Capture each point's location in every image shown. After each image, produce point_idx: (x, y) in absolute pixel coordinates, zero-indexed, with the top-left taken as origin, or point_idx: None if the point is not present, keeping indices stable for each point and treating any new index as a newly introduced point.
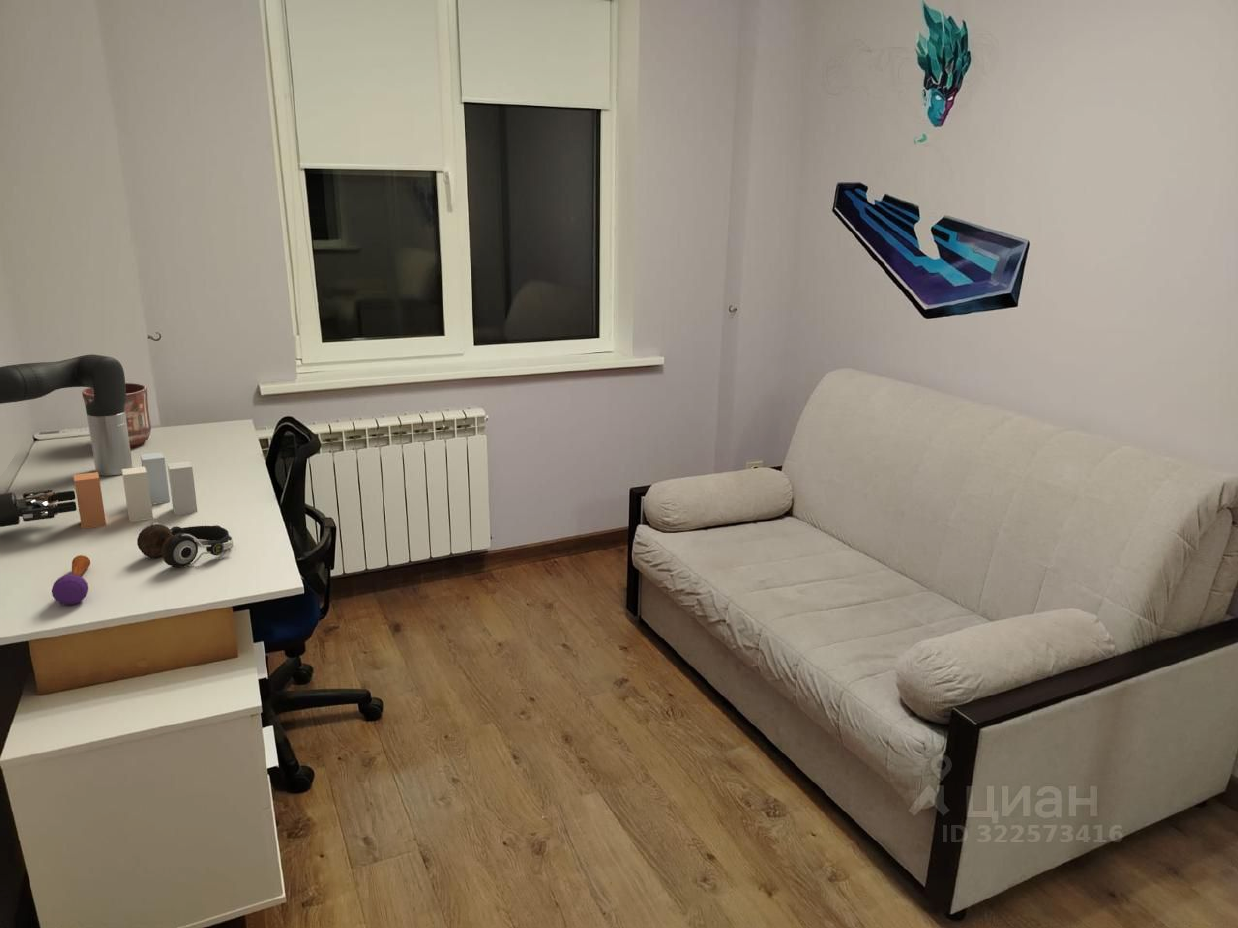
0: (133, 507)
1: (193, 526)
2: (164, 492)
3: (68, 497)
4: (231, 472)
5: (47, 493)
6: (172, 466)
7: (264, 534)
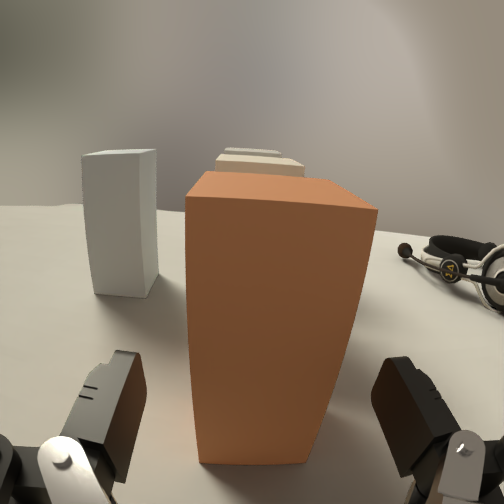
0: None
1: (436, 248)
2: (154, 252)
3: (135, 410)
4: (79, 218)
5: (62, 498)
6: (256, 151)
7: (400, 238)
